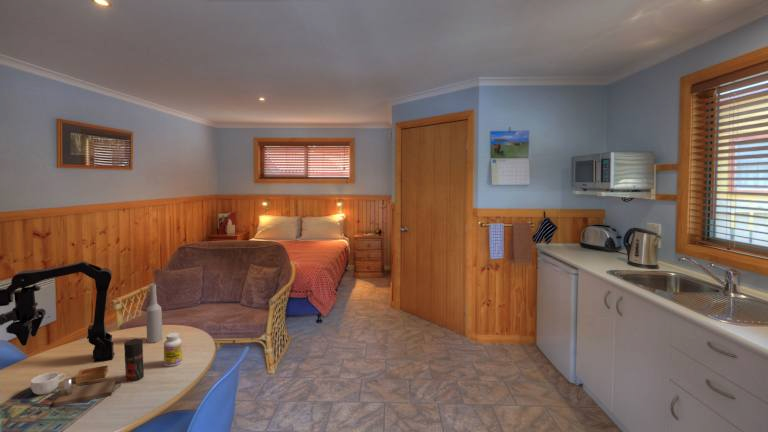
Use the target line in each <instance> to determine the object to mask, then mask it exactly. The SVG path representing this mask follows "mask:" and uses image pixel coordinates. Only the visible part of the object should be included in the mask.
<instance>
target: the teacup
mask: <svg viewBox="0 0 768 432" xmlns="http://www.w3.org/2000/svg"><path fill="white" fill-rule="evenodd" d="M62 375H63V377H62V378H61V376H62ZM65 378H66V374H65V373H64V372H63V373H60V372H57V371H50V372H46V373H42V374H39V375H37V376H35V377H32V378H31V379H30V382H29V383H30V389H31V391H32V393H34V394H35V395H39V396H40V395H41V396H42V395H46V394H50V393H52V392H53V391H55V390H56V389H57V387H58V385H59V384H60V383H61V382H62V381H63V380H65Z"/></svg>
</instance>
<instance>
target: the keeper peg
mask: <svg viewBox="0 0 768 432" xmlns="http://www.w3.org/2000/svg"><path fill="white" fill-rule="evenodd" d="M63 380H64V381H63V382H64V389H65V396H69V395H71V394H72V388H73V379H72V377H69V378H68V377H67V378H66V379H65V378H64V379H63Z"/></svg>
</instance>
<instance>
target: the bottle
mask: <svg viewBox="0 0 768 432" xmlns="http://www.w3.org/2000/svg"><path fill="white" fill-rule="evenodd" d="M149 292H150V293H149V295H150V296H149V298H150V300H149V305H148V306H147V307H146V310H145V313H146V314H145V315H146V317H145V319H146V343H147V344H155V343H154V342H156V343H159V342H158V341H160V340H161V341H163V340H162V339H164V337H163V334H164V333H163V316H162V315H163V314H162V312H163V311H162V306H161V305H160V304H158V298H157V284H156V283H151V284H149ZM161 341H160V342H161Z"/></svg>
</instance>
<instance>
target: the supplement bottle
mask: <svg viewBox="0 0 768 432" xmlns="http://www.w3.org/2000/svg"><path fill="white" fill-rule="evenodd" d="M179 336H180V334H179V332H170V333H168V334H166V337H165V338H166V340H165V341H164V343H163V361H164V363H163V364H164V366H165V367H169V368H170V367H176V366H178V365H180V364H181V363H182V361H183V352H182V349H183V347H182V342H183V341H182V339H181V338H180V337H179Z"/></svg>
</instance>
